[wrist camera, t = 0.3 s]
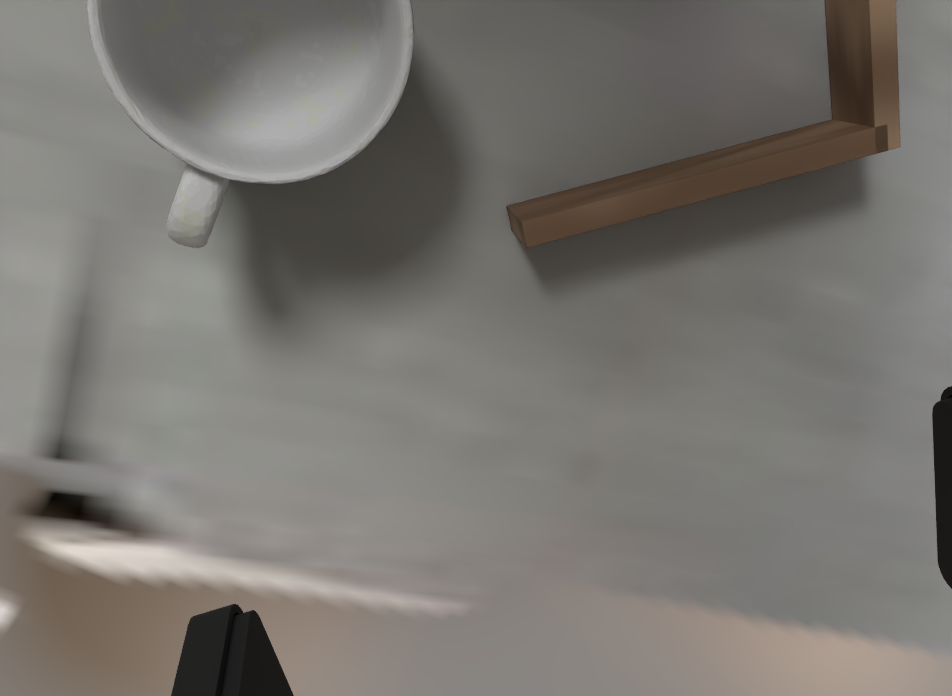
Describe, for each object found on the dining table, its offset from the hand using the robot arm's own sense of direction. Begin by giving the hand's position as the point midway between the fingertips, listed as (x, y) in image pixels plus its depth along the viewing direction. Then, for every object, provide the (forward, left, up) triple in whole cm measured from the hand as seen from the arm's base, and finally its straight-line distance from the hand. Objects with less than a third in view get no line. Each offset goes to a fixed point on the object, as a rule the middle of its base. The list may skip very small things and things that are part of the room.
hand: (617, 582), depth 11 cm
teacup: (-7, -5, -31) cm, 32 cm away
